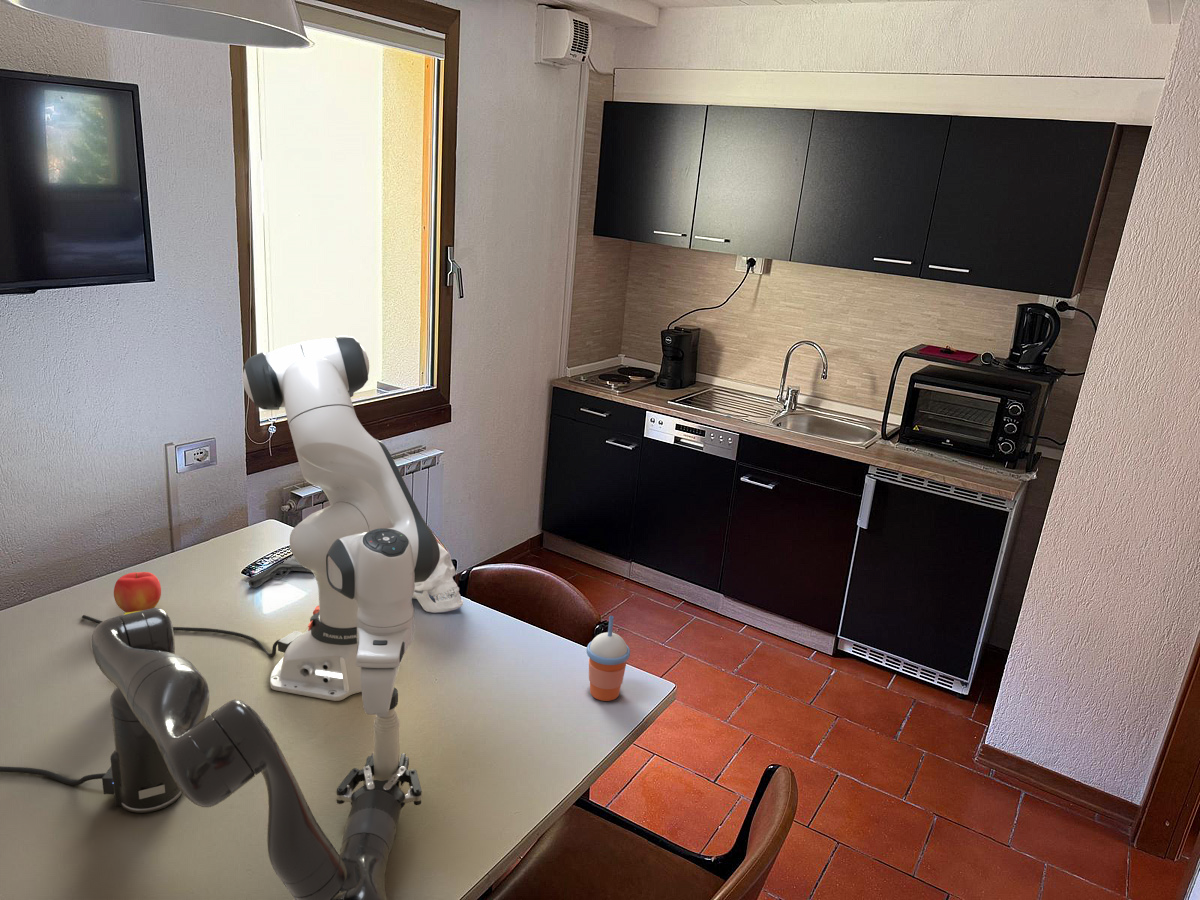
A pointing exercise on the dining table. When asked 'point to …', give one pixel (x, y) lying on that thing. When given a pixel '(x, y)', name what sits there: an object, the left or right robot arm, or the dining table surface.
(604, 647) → the cup with straw
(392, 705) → the cap
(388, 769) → the bottle
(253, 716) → the left robot arm
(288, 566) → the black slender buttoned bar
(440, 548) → the skull
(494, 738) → the dining table surface
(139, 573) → the apple
